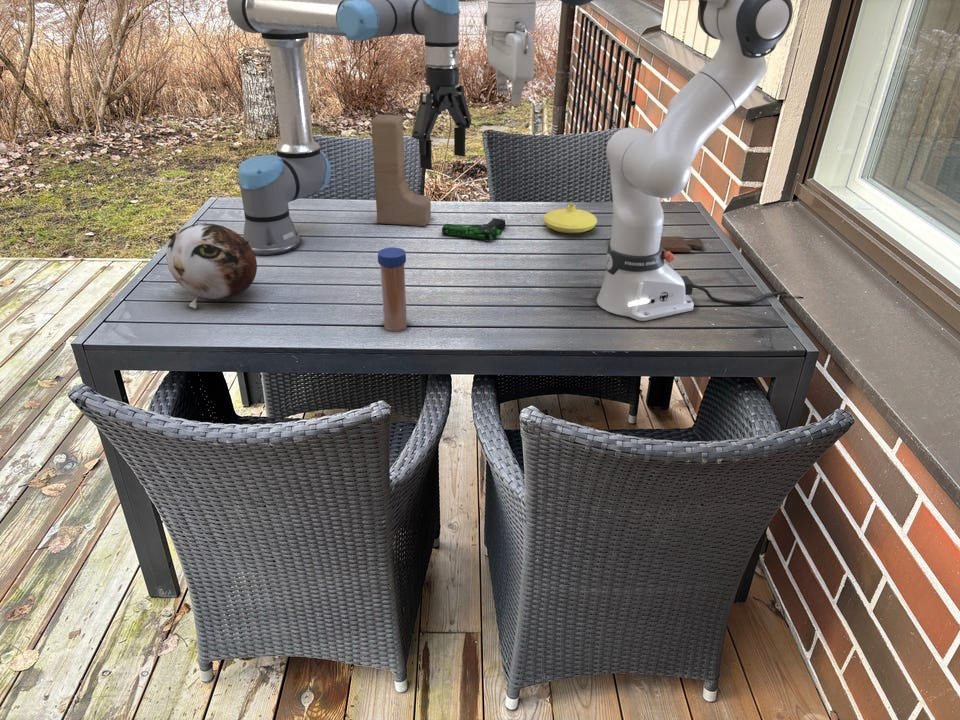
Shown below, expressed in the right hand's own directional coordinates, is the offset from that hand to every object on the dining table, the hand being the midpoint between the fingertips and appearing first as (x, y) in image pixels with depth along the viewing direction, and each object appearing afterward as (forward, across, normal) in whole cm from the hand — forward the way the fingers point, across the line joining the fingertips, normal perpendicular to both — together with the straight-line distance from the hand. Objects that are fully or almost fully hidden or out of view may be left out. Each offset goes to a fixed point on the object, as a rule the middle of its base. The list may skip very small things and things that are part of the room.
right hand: (508, 98), depth 138 cm
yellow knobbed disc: (+47, +50, -34) cm, 77 cm away
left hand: (+19, +28, +8) cm, 35 cm away
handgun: (+47, +53, -6) cm, 71 cm away
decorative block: (+47, +66, +13) cm, 82 cm away
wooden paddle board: (+47, +32, -54) cm, 78 cm away
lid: (+30, 0, +24) cm, 39 cm away
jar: (+47, 0, +24) cm, 53 cm away
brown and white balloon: (+47, +24, +63) cm, 82 cm away
